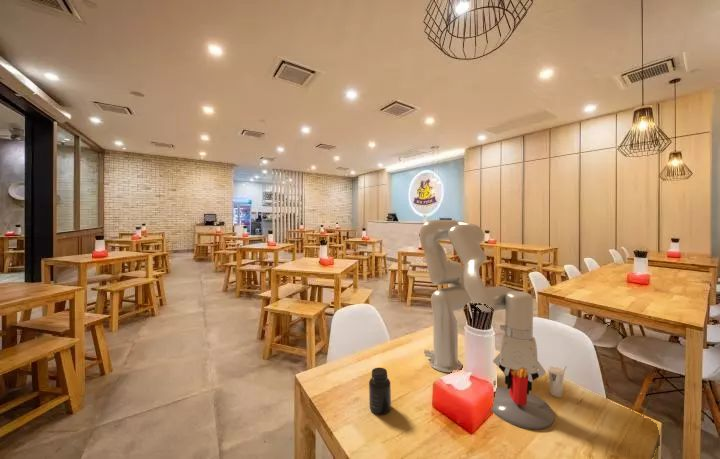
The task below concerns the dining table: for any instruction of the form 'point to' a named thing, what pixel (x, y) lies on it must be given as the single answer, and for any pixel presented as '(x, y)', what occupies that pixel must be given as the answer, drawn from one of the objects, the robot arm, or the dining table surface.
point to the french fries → (518, 386)
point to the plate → (522, 410)
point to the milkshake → (556, 380)
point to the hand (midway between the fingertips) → (518, 388)
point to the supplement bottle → (379, 392)
